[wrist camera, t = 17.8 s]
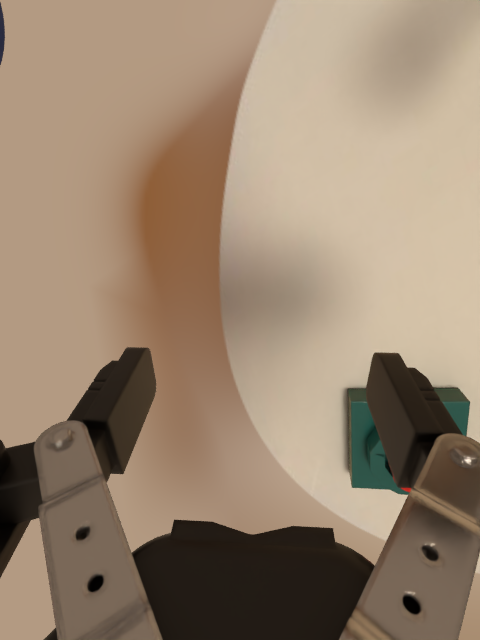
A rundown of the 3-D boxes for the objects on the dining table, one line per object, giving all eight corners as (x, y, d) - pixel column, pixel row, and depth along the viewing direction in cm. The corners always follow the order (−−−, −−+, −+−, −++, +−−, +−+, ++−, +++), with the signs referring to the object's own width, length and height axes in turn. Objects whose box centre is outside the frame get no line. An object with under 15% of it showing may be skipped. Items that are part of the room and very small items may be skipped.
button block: (348, 470, 33) (354, 503, 30) (347, 388, 31) (353, 413, 27) (450, 474, 32) (470, 510, 28) (458, 387, 29) (481, 414, 25)
